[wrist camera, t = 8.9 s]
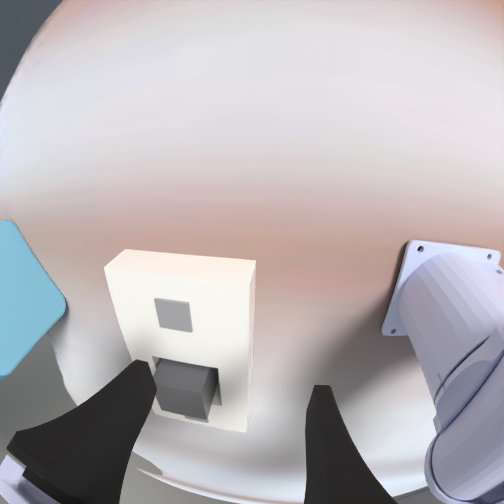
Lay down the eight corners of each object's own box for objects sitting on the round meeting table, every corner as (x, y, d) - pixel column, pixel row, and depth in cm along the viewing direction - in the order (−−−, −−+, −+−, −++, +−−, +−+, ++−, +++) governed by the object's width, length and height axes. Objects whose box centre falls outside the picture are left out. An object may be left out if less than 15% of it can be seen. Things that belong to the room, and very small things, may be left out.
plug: (217, 342, 22) (201, 393, 17) (220, 372, 24) (207, 420, 19) (173, 335, 23) (149, 382, 18) (180, 365, 25) (161, 410, 20)
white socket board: (256, 260, 19) (249, 285, 16) (250, 409, 26) (246, 434, 23) (125, 249, 20) (102, 268, 17) (163, 393, 27) (153, 415, 24)
